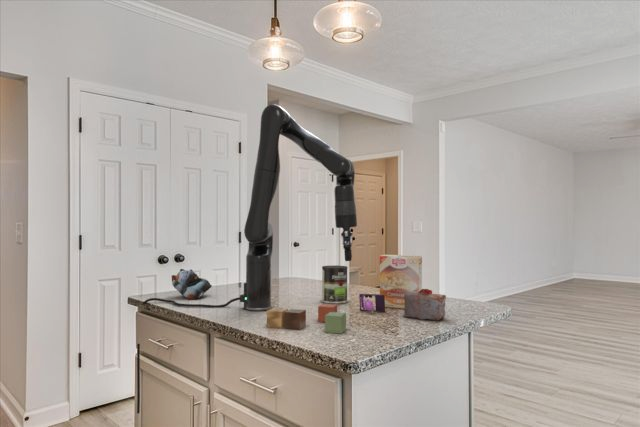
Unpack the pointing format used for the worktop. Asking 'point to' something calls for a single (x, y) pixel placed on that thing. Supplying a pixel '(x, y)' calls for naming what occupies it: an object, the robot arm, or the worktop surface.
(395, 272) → the coffeecake box
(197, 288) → the blue-grey lumpy piece
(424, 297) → the food item
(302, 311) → the walnut block
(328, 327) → the sage block
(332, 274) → the coffee can
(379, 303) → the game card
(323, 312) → the terracotta red block
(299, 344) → the worktop surface
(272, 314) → the maple block
